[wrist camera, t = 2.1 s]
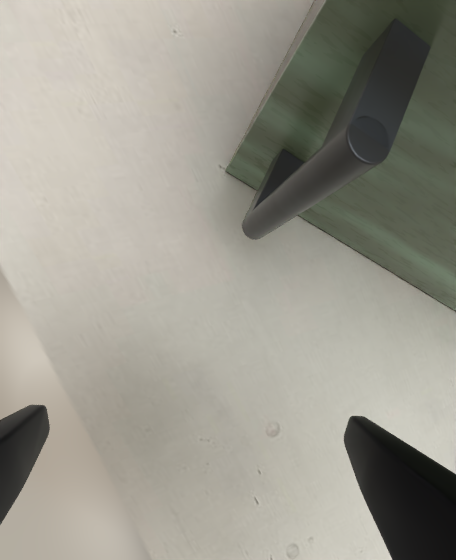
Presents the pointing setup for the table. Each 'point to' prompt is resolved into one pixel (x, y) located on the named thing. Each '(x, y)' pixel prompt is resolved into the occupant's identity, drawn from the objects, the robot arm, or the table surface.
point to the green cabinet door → (365, 138)
